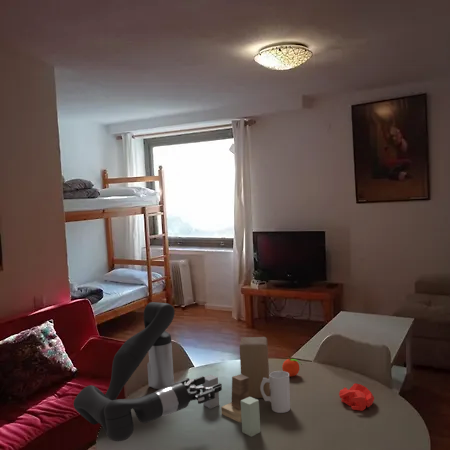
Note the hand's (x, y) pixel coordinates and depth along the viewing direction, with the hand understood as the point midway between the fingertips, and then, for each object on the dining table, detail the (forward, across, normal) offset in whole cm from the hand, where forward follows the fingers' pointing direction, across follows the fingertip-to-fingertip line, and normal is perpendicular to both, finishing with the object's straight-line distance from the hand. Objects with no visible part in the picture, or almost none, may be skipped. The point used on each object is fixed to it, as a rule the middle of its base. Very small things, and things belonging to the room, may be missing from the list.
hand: (212, 382), depth 144 cm
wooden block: (+26, -8, -15) cm, 32 cm away
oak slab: (+12, -1, -15) cm, 19 cm away
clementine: (+48, -10, -15) cm, 51 cm away
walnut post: (+11, 0, -12) cm, 16 cm away
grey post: (+9, -13, -14) cm, 21 cm away
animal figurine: (+45, +22, -15) cm, 53 cm away
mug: (+22, +6, -15) cm, 27 cm away
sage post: (+6, +11, -14) cm, 19 cm away
